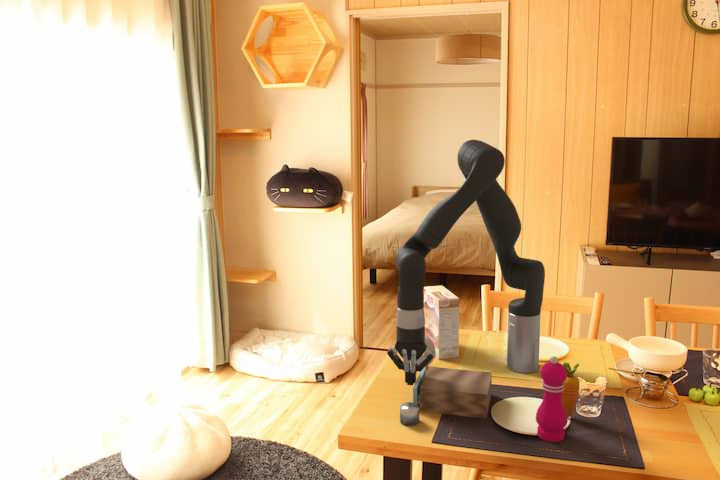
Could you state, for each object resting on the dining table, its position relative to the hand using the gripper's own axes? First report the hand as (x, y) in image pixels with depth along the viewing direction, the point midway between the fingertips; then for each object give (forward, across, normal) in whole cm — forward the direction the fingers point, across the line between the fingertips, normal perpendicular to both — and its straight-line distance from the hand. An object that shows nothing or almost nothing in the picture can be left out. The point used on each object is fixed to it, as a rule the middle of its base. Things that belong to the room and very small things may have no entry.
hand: (410, 384), depth 175 cm
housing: (+4, +12, 0) cm, 13 cm away
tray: (+4, +10, 0) cm, 11 cm away
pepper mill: (+4, +36, -12) cm, 39 cm away
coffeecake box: (+4, +2, +36) cm, 36 cm away
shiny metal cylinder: (+4, +2, -13) cm, 14 cm away
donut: (+4, -2, +22) cm, 22 cm away
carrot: (+4, +40, -2) cm, 41 cm away
